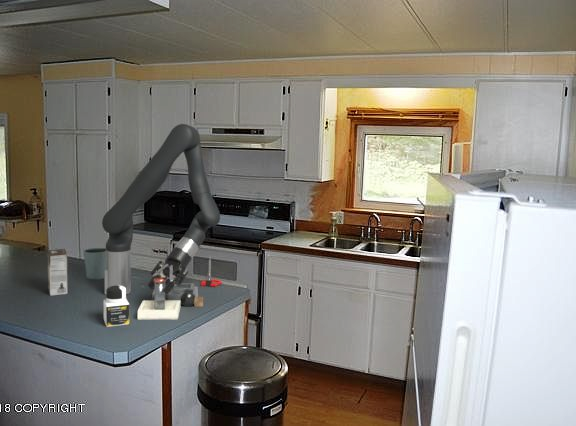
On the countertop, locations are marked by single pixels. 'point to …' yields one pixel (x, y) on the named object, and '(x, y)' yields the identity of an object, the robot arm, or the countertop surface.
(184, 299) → the trolley
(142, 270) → the countertop surface
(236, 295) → the countertop surface
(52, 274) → the coffee box
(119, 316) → the medicine bottle
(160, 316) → the tray
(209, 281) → the tow hook
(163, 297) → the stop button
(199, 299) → the block
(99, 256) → the teal cup
